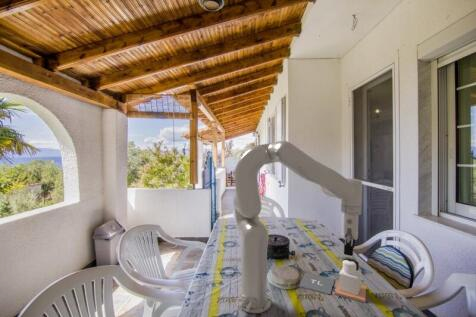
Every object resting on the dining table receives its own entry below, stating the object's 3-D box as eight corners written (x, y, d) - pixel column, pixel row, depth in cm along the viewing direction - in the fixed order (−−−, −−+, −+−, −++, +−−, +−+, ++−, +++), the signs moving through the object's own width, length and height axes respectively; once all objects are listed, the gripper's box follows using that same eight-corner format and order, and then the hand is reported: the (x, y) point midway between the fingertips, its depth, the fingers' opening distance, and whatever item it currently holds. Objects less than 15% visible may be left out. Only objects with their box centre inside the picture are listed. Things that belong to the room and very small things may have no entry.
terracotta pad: (365, 302, 92) (365, 300, 92) (334, 294, 98) (334, 292, 98) (366, 288, 102) (366, 286, 102) (338, 281, 107) (338, 279, 107)
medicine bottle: (343, 282, 105) (343, 255, 105) (361, 288, 101) (361, 259, 100) (338, 289, 99) (338, 260, 99) (357, 296, 95) (358, 265, 95)
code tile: (330, 294, 98) (330, 294, 98) (298, 286, 104) (298, 285, 104) (334, 280, 109) (334, 279, 109) (305, 273, 115) (305, 272, 115)
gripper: (360, 215, 90) (358, 260, 90) (362, 206, 105) (360, 246, 105) (338, 212, 93) (336, 256, 94) (343, 204, 108) (341, 242, 109)
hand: (349, 250), depth 99 cm, fingers open, 9 cm apart
